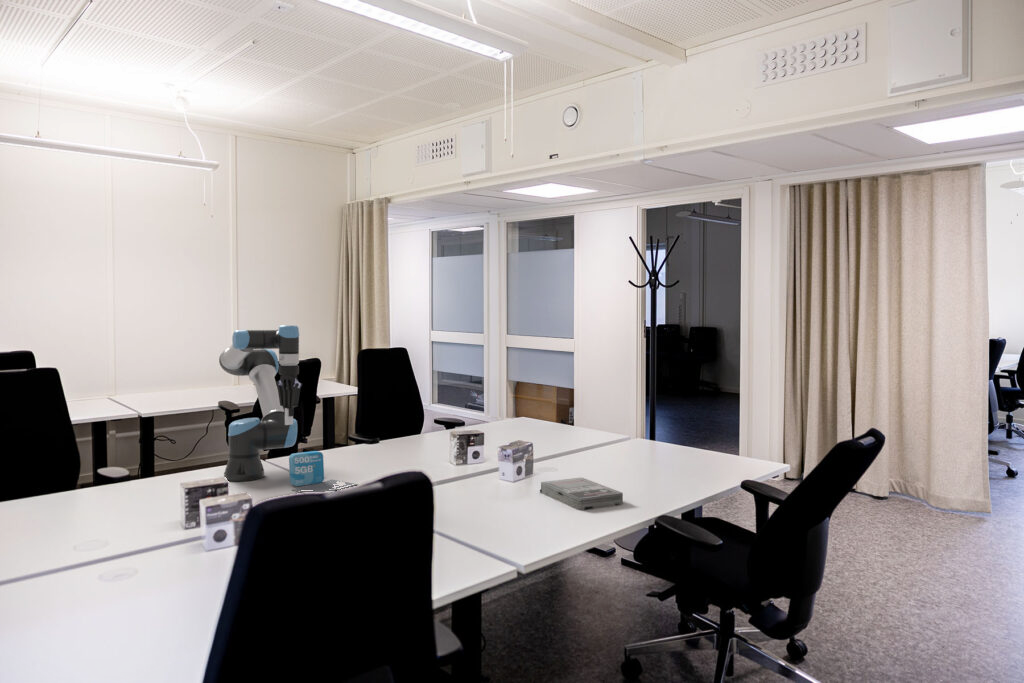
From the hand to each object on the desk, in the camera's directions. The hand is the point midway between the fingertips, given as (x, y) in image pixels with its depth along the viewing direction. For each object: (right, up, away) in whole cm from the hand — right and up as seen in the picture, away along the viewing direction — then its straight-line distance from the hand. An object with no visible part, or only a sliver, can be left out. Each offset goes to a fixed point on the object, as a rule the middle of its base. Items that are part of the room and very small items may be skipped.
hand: (288, 424), depth 270 cm
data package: (+9, -23, -5) cm, 25 cm away
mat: (+17, -23, -10) cm, 30 cm away
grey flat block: (+113, -25, -22) cm, 117 cm away
